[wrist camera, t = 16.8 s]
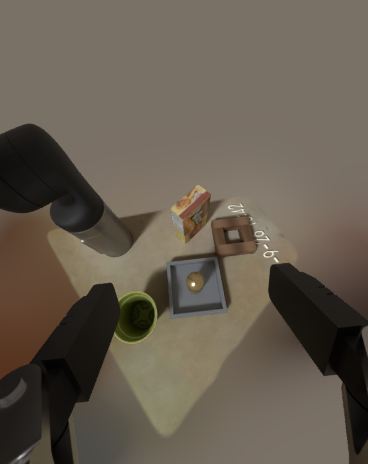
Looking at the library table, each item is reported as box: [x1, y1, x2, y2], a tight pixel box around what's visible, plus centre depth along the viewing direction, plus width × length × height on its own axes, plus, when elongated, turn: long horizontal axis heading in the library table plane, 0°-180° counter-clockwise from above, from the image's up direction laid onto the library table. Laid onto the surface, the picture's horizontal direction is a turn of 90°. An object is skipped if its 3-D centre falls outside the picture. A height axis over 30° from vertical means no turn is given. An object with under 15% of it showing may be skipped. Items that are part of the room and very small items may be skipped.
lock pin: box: [186, 272, 204, 294], centre depth 37 cm, size 3×3×12 cm
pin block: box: [211, 216, 257, 258], centre depth 47 cm, size 10×10×3 cm
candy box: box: [170, 185, 211, 244], centre depth 43 cm, size 9×4×15 cm, turn 136°
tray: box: [167, 257, 227, 319], centre depth 42 cm, size 13×13×3 cm
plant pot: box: [114, 291, 157, 344], centre depth 38 cm, size 9×9×9 cm
